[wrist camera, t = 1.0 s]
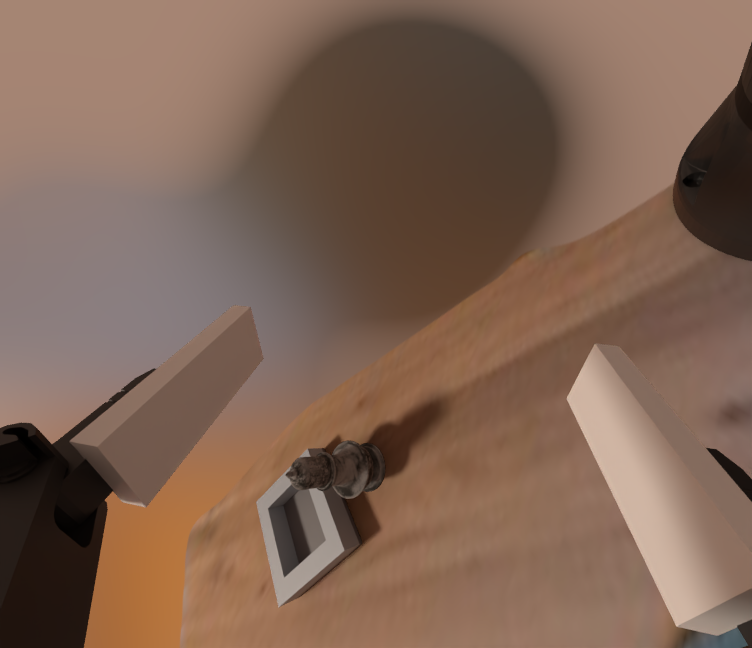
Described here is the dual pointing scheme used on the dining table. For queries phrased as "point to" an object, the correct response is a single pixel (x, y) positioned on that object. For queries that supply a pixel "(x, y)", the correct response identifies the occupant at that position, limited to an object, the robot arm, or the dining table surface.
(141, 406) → the robot arm
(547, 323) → the dining table surface
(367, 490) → the salt shaker
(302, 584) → the socket block
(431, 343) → the dining table surface
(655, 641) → the dining table surface
